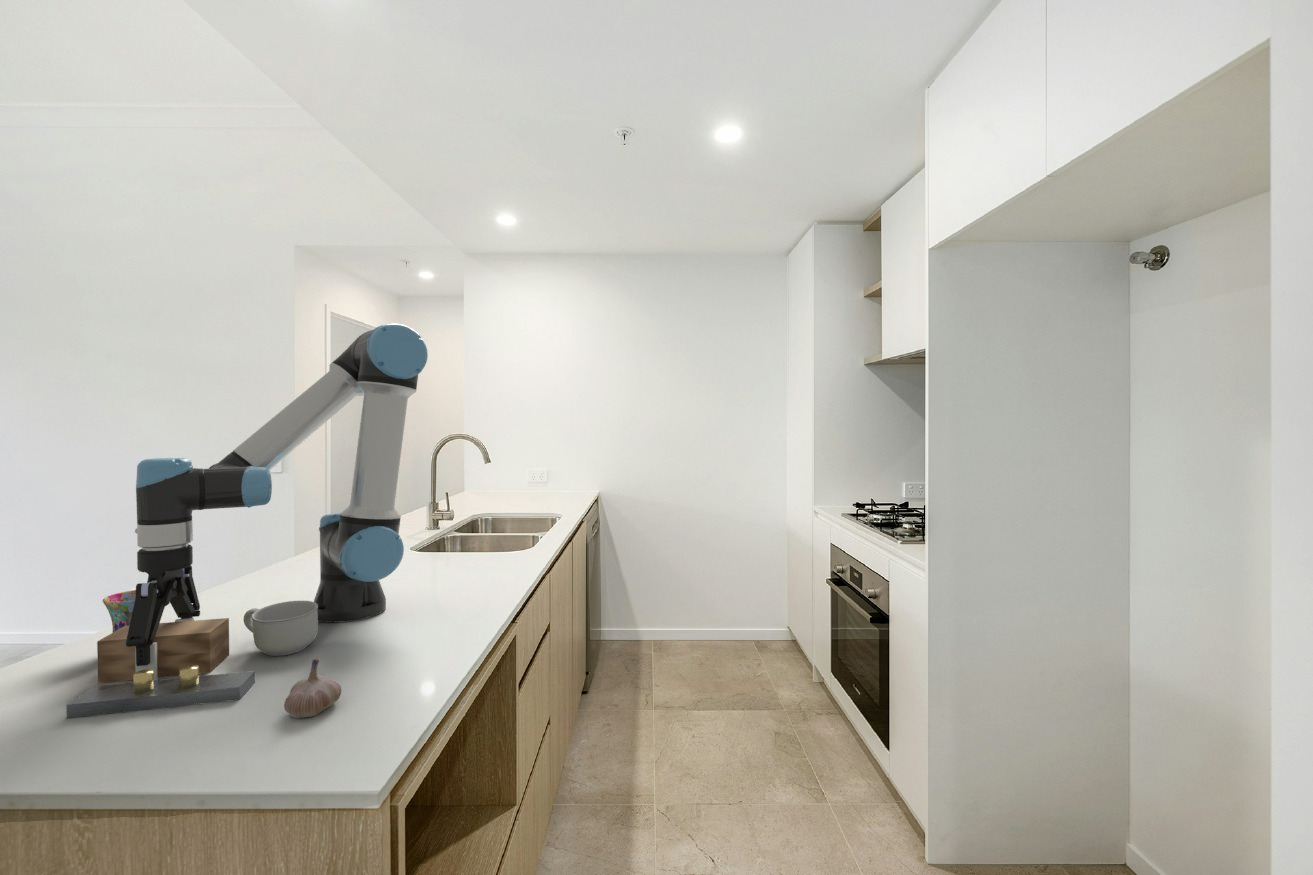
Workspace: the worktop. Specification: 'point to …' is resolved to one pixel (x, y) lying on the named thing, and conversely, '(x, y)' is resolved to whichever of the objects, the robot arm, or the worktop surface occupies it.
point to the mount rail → (161, 692)
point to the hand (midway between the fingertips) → (166, 667)
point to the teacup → (283, 626)
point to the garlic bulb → (312, 694)
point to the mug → (120, 608)
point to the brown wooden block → (167, 649)
